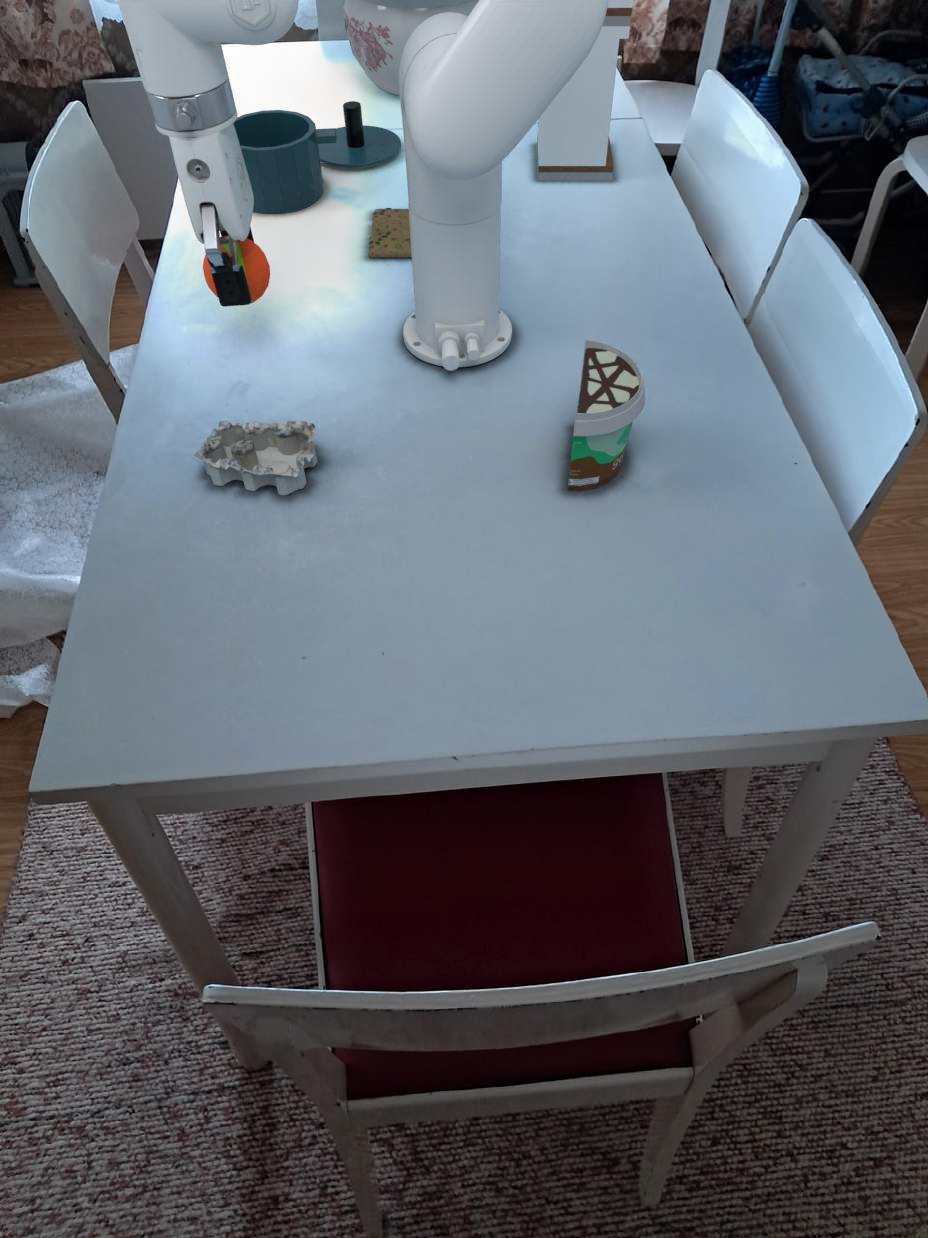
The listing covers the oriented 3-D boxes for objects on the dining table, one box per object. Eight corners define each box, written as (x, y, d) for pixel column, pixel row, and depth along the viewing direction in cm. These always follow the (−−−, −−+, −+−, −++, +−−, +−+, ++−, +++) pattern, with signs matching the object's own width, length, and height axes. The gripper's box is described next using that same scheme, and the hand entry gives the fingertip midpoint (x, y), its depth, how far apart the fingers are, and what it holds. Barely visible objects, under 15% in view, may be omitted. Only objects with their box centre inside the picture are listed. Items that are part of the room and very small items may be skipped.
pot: (341, 210, 120) (333, 146, 114) (211, 216, 120) (195, 152, 113) (343, 169, 128) (335, 106, 121) (220, 175, 127) (206, 112, 121)
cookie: (367, 257, 112) (366, 250, 111) (374, 212, 119) (373, 205, 119) (460, 257, 112) (460, 249, 111) (461, 211, 119) (461, 204, 119)
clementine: (288, 311, 93) (274, 247, 87) (226, 330, 91) (207, 266, 86) (265, 276, 98) (249, 214, 92) (205, 294, 96) (186, 232, 90)
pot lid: (402, 169, 128) (399, 121, 122) (310, 174, 127) (302, 126, 122) (400, 130, 136) (397, 84, 131) (313, 134, 136) (306, 87, 131)
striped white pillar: (612, 180, 125) (649, -138, 97) (537, 180, 125) (554, -137, 98) (606, 145, 132) (639, -160, 104) (536, 145, 132) (551, -159, 105)
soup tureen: (461, 128, 136) (458, -32, 120) (311, 100, 144) (290, -54, 127) (530, 65, 152) (536, -84, 135) (391, 43, 159) (382, -101, 143)
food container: (630, 507, 83) (646, 423, 75) (566, 500, 83) (575, 417, 76) (635, 425, 90) (650, 341, 82) (576, 420, 91) (585, 336, 83)
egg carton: (325, 454, 88) (320, 422, 85) (297, 504, 84) (290, 471, 81) (230, 436, 90) (221, 403, 87) (197, 483, 86) (186, 451, 82)
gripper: (223, 141, 74) (269, 325, 87) (242, 63, 84) (280, 238, 98) (135, 148, 73) (195, 331, 87) (164, 69, 84) (214, 243, 98)
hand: (240, 281), depth 93 cm, fingers closed on clementine, 7 cm apart
